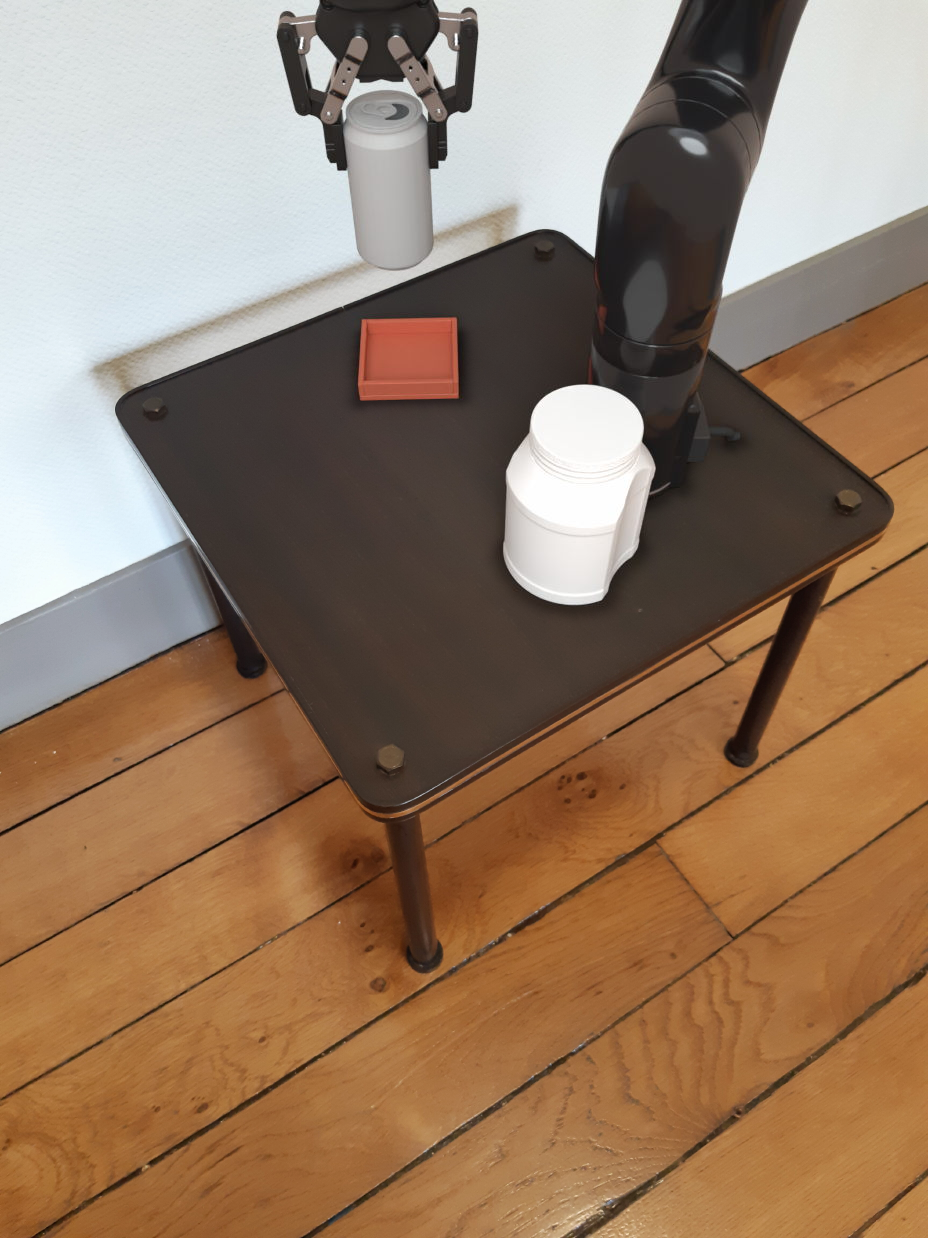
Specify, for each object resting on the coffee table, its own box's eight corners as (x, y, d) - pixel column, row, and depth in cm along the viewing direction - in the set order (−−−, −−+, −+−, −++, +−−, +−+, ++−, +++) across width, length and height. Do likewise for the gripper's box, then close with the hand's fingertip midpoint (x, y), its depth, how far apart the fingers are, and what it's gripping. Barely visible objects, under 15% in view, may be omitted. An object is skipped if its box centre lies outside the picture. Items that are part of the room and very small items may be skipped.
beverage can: (424, 280, 77) (417, 134, 67) (348, 271, 77) (329, 126, 67) (441, 234, 80) (436, 89, 70) (368, 226, 81) (353, 81, 71)
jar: (555, 486, 85) (568, 354, 73) (650, 530, 82) (681, 400, 70) (487, 572, 80) (489, 445, 67) (586, 623, 77) (608, 499, 64)
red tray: (457, 333, 97) (456, 316, 95) (458, 398, 92) (458, 381, 90) (363, 335, 97) (361, 318, 95) (360, 400, 92) (357, 384, 90)
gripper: (246, -67, 56) (291, 194, 70) (486, -72, 56) (484, 189, 70) (258, -115, 61) (298, 140, 74) (481, -120, 61) (480, 135, 75)
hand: (388, 163), depth 72 cm, fingers closed on beverage can, 6 cm apart
